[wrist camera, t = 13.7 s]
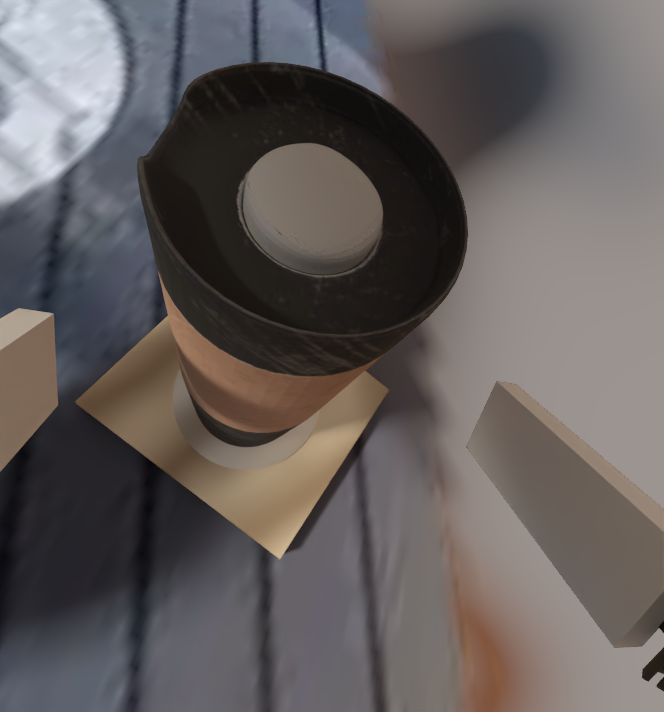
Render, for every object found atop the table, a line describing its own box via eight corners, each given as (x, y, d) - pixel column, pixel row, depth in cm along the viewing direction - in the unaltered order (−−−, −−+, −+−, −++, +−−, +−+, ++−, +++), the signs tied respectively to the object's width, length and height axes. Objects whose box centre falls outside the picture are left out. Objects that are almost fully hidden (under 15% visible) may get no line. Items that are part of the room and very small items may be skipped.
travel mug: (321, 420, 27) (530, 277, 9) (219, 473, 24) (234, 414, 6) (274, 328, 29) (376, 46, 11) (171, 368, 26) (70, 69, 8)
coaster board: (81, 407, 25) (73, 401, 24) (225, 271, 31) (226, 260, 29) (276, 555, 25) (280, 559, 24) (381, 394, 31) (390, 389, 30)
